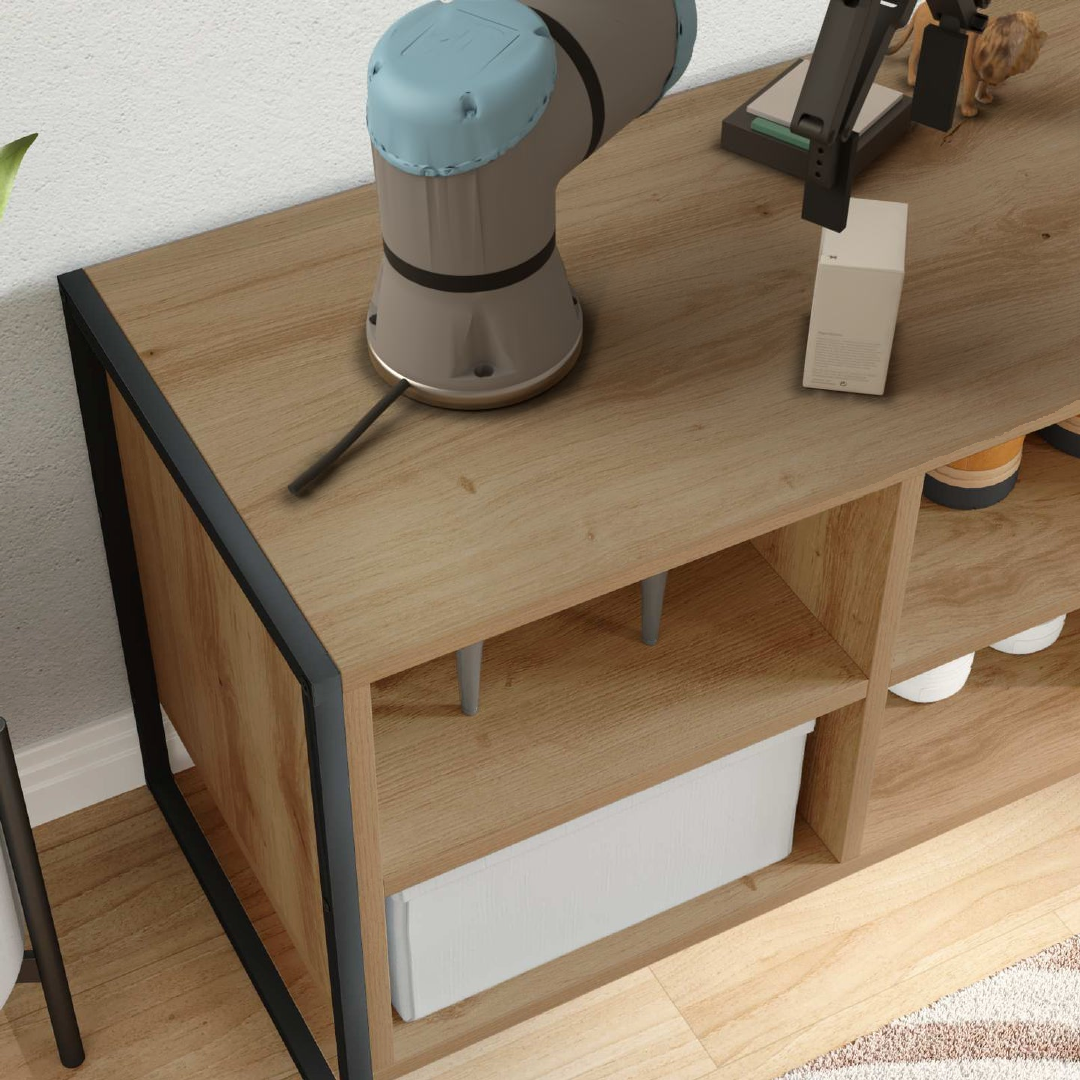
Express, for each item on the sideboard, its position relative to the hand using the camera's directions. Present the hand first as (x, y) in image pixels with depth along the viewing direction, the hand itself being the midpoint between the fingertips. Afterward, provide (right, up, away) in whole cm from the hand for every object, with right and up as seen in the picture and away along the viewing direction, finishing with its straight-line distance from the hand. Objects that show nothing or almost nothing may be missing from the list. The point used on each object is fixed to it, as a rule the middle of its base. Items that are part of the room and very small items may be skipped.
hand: (878, 172), depth 99 cm
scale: (+1, +10, +30) cm, 32 cm away
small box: (0, -10, +11) cm, 15 cm away
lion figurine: (+14, +15, +35) cm, 40 cm away
